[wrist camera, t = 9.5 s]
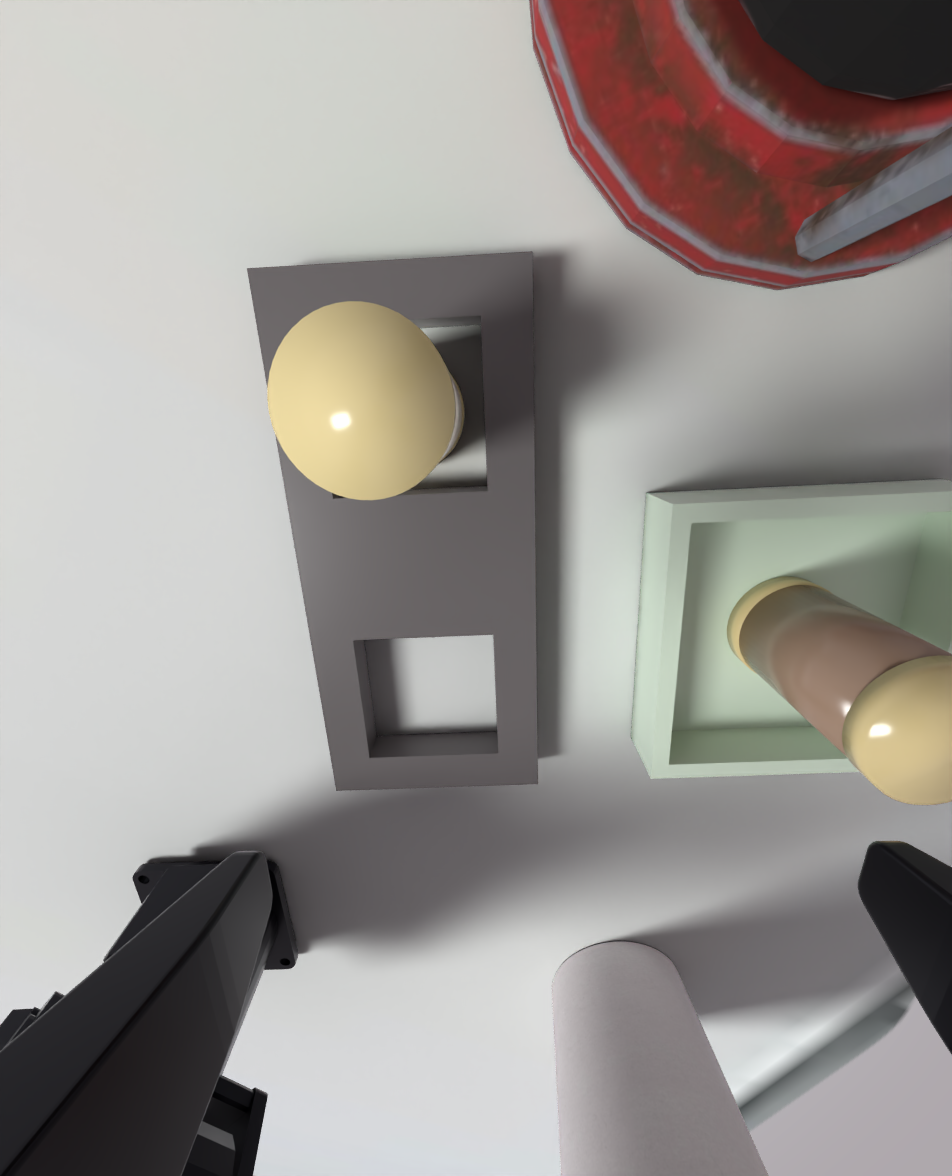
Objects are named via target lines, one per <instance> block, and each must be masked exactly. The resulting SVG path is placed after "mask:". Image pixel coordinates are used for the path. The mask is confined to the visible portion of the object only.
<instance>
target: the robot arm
mask: <svg viewBox="0 0 952 1176" xmlns="http://www.w3.org/2000/svg"><path fill="white" fill-rule="evenodd" d="M133 881H134V884H135V887H136V890H137V892H138V895H139V898H140V901H141V903H142V905H141V906H140V908H139V909H138V910H137V912H136V913H135V915H134V916H133V918H132V919H131V920H130V922H129V923H128V925H127V926H126V927H125V929H124V930H123V932H122V933H121V935H120V936H119V937H118V939H117V940H116V942H115V943H114V945H113V946H112V947H111V949H110V950H109V952H108V953H107V954H106V956H105V958H104V960H103V961H104V963H103V964H102V965H100V966H99V967H98V968H97V969H96V970H95V971H93V972H92V973H91V974H90V975H89V976H88V977H86V978H85V979H84V980H83V981H82V982H81V983H79V984H78V985H77V986H76V987H75V988H73V989H72V990H71V991H70V992H69V993H68V994H66V995H63V994H61V993H59V992H57V991H56V992H55V993H54V994H53V995H52V996H51V998H50V999H49V1000H48V1001H47V1002H46V1003H45V1005H44V1006H43V1007H42V1008H41V1009H38V1008H36V1007H34V1008H33V1009H18V1010H12V1012H11V1013H10V1014H9V1015H8V1016H7V1018H6V1019H5V1020H4V1021H3V1023H2V1024H1V1025H0V1176H253V1171H254V1166H255V1160H256V1155H257V1150H258V1144H259V1139H260V1134H261V1128H262V1123H263V1118H264V1112H265V1107H266V1102H267V1095H268V1094H267V1093H266V1092H263V1091H261V1090H259V1089H257V1088H254V1089H252V1090H251V1089H249V1088H247V1087H245V1086H243V1085H241V1084H239V1083H237V1082H235V1081H233V1080H231V1079H228V1078H226V1077H224V1076H222V1073H223V1071H224V1068H225V1066H226V1063H227V1061H228V1058H229V1056H230V1053H231V1051H232V1048H233V1046H234V1043H235V1041H236V1038H237V1036H238V1033H239V1031H240V1028H241V1026H242V1023H243V1021H244V1018H245V1016H246V1013H247V1010H248V1008H249V1005H250V1003H251V1000H252V998H253V995H254V993H255V990H256V988H257V985H258V983H259V980H260V978H261V975H262V973H263V970H272V969H291V968H292V967H294V965H295V964H296V961H297V958H298V950H297V946H296V942H295V937H294V933H293V929H292V924H291V920H290V916H289V911H288V907H287V903H286V898H285V894H284V890H283V886H282V881H281V877H280V873H279V868H278V866H277V865H276V864H275V863H274V862H272V861H269V860H266V857H265V855H264V853H263V852H261V851H237V852H234V853H233V854H231V855H230V856H228V857H227V858H226V859H225V860H224V861H217V862H184V863H150V864H143V865H141V866H140V867H139V868H138V869H137V871H136V872H135V873H134V875H133ZM858 890H859V894H860V897H861V900H862V902H863V904H864V906H865V908H866V909H867V911H868V913H869V915H870V916H871V918H872V920H873V922H874V923H875V925H876V927H877V929H878V930H879V932H880V934H881V936H882V938H883V939H884V941H885V943H886V945H887V946H888V948H889V950H890V952H891V953H892V955H893V957H894V959H895V961H896V962H897V964H898V966H899V968H900V969H901V971H902V973H903V975H904V976H905V978H906V980H907V982H908V983H909V985H910V987H911V989H912V991H913V992H914V994H915V996H916V998H917V999H918V1001H919V1003H920V1004H921V1006H922V1008H923V1010H924V1011H925V1013H926V1014H927V1016H928V1018H929V1020H930V1021H931V1023H932V1025H933V1026H934V1028H935V1029H936V1031H937V1032H938V1034H939V1036H940V1037H941V1039H942V1040H943V1042H944V1043H945V1045H946V1047H947V1048H948V1049H949V1051H950V1053H951V1054H952V867H950V866H948V865H946V864H944V863H943V862H941V861H939V860H937V859H935V858H933V857H932V856H930V855H928V854H926V853H924V852H922V851H921V850H919V849H917V848H915V847H913V846H912V845H910V844H908V843H905V842H901V841H875V842H873V843H871V844H870V845H869V847H868V849H867V852H866V856H865V859H864V862H863V866H862V869H861V873H860V876H859V880H858Z"/></svg>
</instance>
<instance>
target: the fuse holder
mask: <svg viewBox="0 0 952 1176" xmlns="http://www.w3.org/2000/svg"><path fill="white" fill-rule="evenodd" d="M247 271H248V277H249V283H250V289H251V294H252V300H253V306H254V312H255V318H256V324H257V330H258V335H259V341H260V347H261V353H262V359H263V365H264V370H265V376H266V382H267V388H268V379H269V372H270V369H271V365H272V361H273V359H274V356H275V354H276V352H277V349H278V347H279V346H280V344H281V342H282V341H283V339H284V337H285V336H286V335H287V334H288V332H289V331H290V330H291V329H292V327H294V326H295V325H296V324H297V323H298V322H299V321H300V320H301V319H302V318H304V317H305V316H307V315H308V314H310V313H311V312H313V311H315V310H317V309H320V308H322V307H324V306H327V305H331V304H334V303H339V302H347V301H362V302H368V303H374V304H377V305H381V306H384V307H387V308H389V309H391V310H393V311H395V312H398V313H400V314H401V315H403V316H404V317H406V318H407V319H409V320H410V321H411V322H413V323H414V324H415V325H416V326H417V327H418V328H433V327H451V326H469V325H481V341H482V366H483V391H484V416H485V441H486V465H487V486H476V487H455V488H434V489H414V490H407V491H405V492H403V493H401V494H398V495H396V496H393V497H389V498H385V499H378V500H357V499H350V498H346V497H343V496H339V495H336V494H334V493H331V492H329V491H327V490H325V489H323V488H321V487H320V486H318V485H316V484H315V483H314V482H312V481H311V480H310V479H308V478H307V477H306V476H305V475H304V474H303V473H301V472H300V471H299V470H298V469H297V468H296V466H295V465H294V464H293V463H292V462H291V460H290V459H289V458H288V456H287V455H286V453H285V452H284V450H283V449H282V447H281V445H280V443H279V441H278V439H277V437H276V441H277V446H278V452H279V458H280V464H281V470H282V476H283V481H284V487H285V493H286V499H287V505H288V511H289V516H290V522H291V528H292V534H293V540H294V546H295V552H296V557H297V563H298V569H299V575H300V581H301V587H302V592H303V598H304V604H305V610H306V616H307V622H308V627H309V633H310V639H311V645H312V651H313V657H314V663H315V668H316V674H317V680H318V686H319V692H320V698H321V703H322V709H323V715H324V721H325V727H326V733H327V738H328V744H329V750H330V756H331V762H332V768H333V774H334V779H335V785H336V791H342V790H372V789H403V788H433V787H463V786H493V785H523V784H538V761H537V657H536V554H535V450H534V347H533V252H516V253H500V254H483V255H466V256H449V257H432V258H415V259H398V260H381V261H364V262H347V263H331V264H314V265H297V266H280V267H263V268H247ZM275 435H276V434H275ZM469 635H493V639H494V664H495V689H496V714H497V732H474V733H446V734H419V735H391V736H377V734H376V727H375V719H374V712H373V704H372V697H371V689H370V682H369V674H368V667H367V659H366V652H365V644H364V640H371V639H395V638H420V637H444V636H469Z"/></svg>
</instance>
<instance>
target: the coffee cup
mask: <svg viewBox="0 0 952 1176" xmlns="http://www.w3.org/2000/svg"><path fill="white" fill-rule="evenodd" d="M552 1004H553V1024H554V1044H555V1064H556V1084H557V1104H558V1124H559V1144H560V1164H561V1176H768V1173H767V1171H766V1169H765V1167H764V1164H763V1162H762V1160H761V1158H760V1156H759V1153H758V1151H757V1149H756V1146H755V1144H754V1142H753V1140H752V1137H751V1135H750V1133H749V1131H748V1128H747V1126H746V1124H745V1122H744V1119H743V1117H742V1115H741V1113H740V1110H739V1108H738V1106H737V1104H736V1101H735V1099H734V1097H733V1095H732V1092H731V1090H730V1088H729V1086H728V1083H727V1081H726V1079H725V1077H724V1074H723V1072H722V1070H721V1068H720V1065H719V1063H718V1061H717V1059H716V1056H715V1054H714V1052H713V1050H712V1047H711V1045H710V1043H709V1041H708V1038H707V1036H706V1034H705V1032H704V1029H703V1027H702V1025H701V1023H700V1020H699V1018H698V1016H697V1014H696V1011H695V1009H694V1007H693V1004H692V1002H691V1000H690V998H689V995H688V993H687V991H686V989H685V986H684V984H683V982H682V980H681V977H680V975H679V973H678V971H677V969H676V967H675V965H674V964H673V962H672V961H671V960H670V959H669V958H668V957H667V956H666V955H664V954H663V953H661V952H660V951H658V950H656V949H654V948H652V947H649V946H646V945H643V944H639V943H634V942H607V943H601V944H597V945H593V946H590V947H588V948H585V949H583V950H581V951H579V952H577V953H575V954H574V955H572V956H571V957H570V958H568V959H567V960H566V961H565V962H564V963H563V964H562V965H561V966H560V968H559V969H558V970H557V972H556V974H555V976H554V979H553V983H552Z"/></svg>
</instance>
